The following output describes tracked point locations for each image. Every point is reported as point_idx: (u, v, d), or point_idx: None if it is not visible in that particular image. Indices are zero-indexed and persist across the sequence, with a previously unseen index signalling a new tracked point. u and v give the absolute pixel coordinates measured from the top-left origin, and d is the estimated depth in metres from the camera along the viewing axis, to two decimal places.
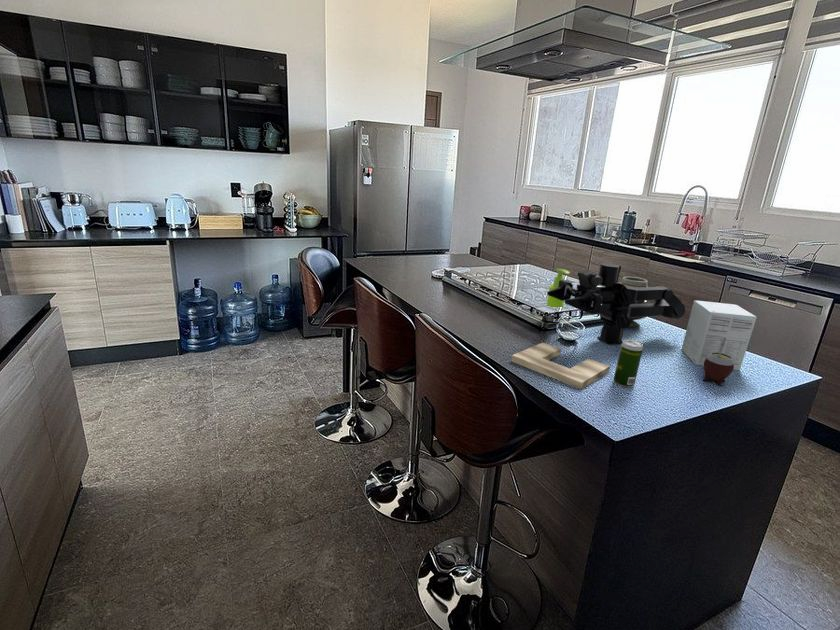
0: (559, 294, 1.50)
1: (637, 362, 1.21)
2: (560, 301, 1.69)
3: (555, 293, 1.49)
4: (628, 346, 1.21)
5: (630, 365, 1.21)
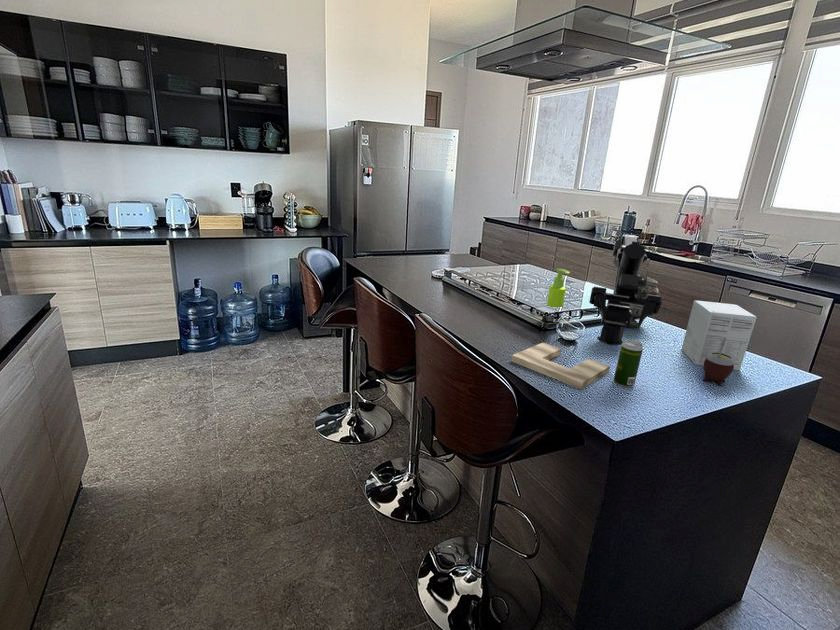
0: None
1: (637, 362, 1.21)
2: (560, 301, 1.69)
3: None
4: (628, 346, 1.21)
5: (630, 365, 1.21)
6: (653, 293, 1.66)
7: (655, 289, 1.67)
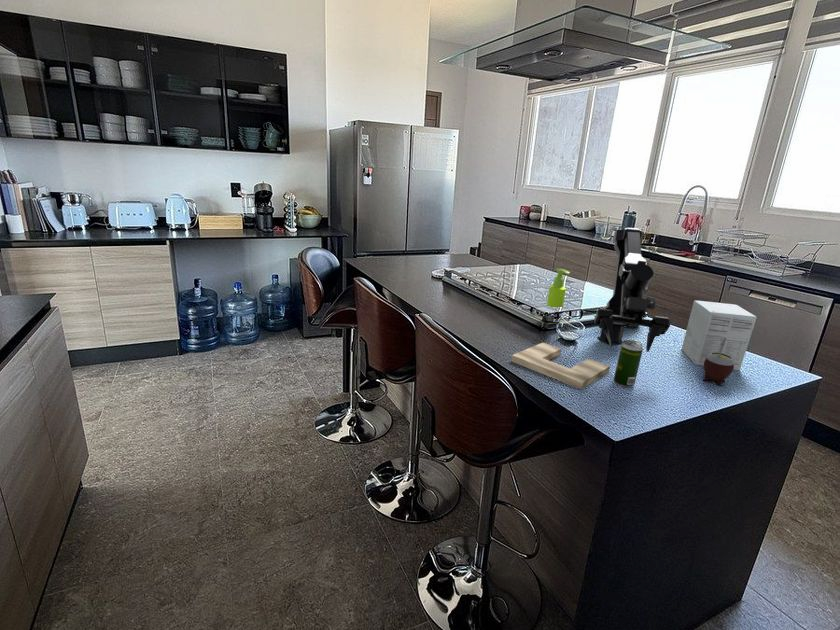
0: None
1: (637, 362, 1.21)
2: (560, 301, 1.69)
3: None
4: (628, 346, 1.21)
5: (630, 365, 1.21)
6: None
7: None
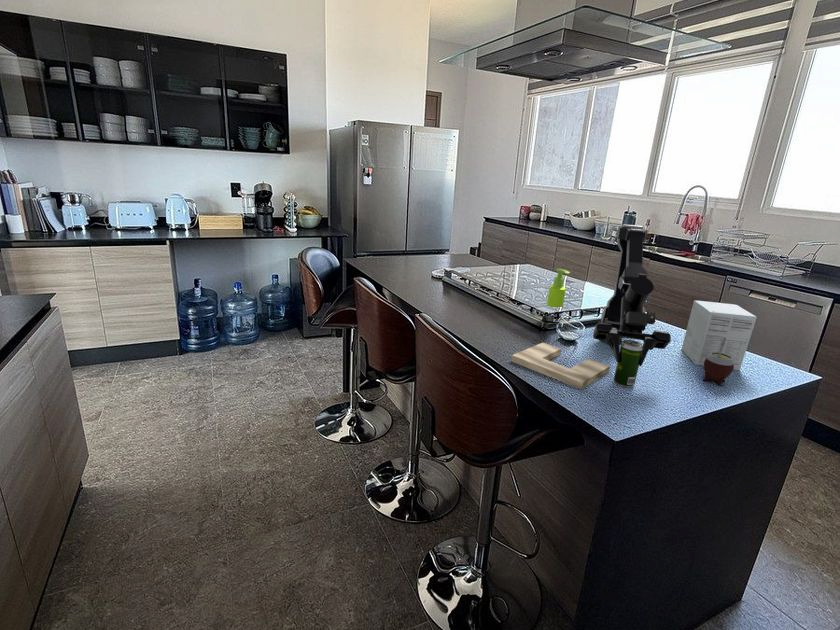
0: None
1: (637, 362, 1.21)
2: (560, 301, 1.69)
3: None
4: (628, 346, 1.21)
5: (630, 365, 1.21)
6: None
7: None
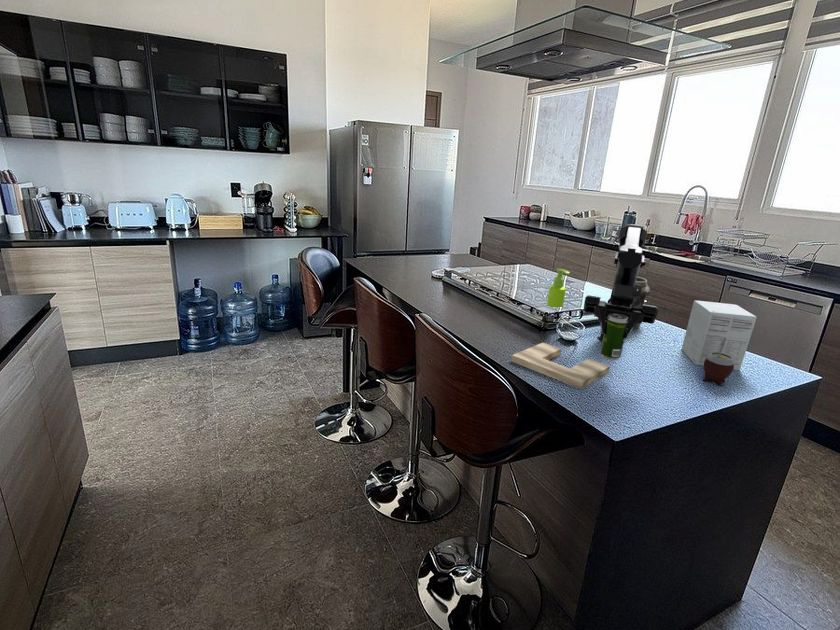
0: None
1: (621, 334, 1.24)
2: (560, 301, 1.69)
3: (605, 324, 1.27)
4: (612, 318, 1.23)
5: (614, 337, 1.24)
6: (641, 293, 1.66)
7: (643, 289, 1.66)
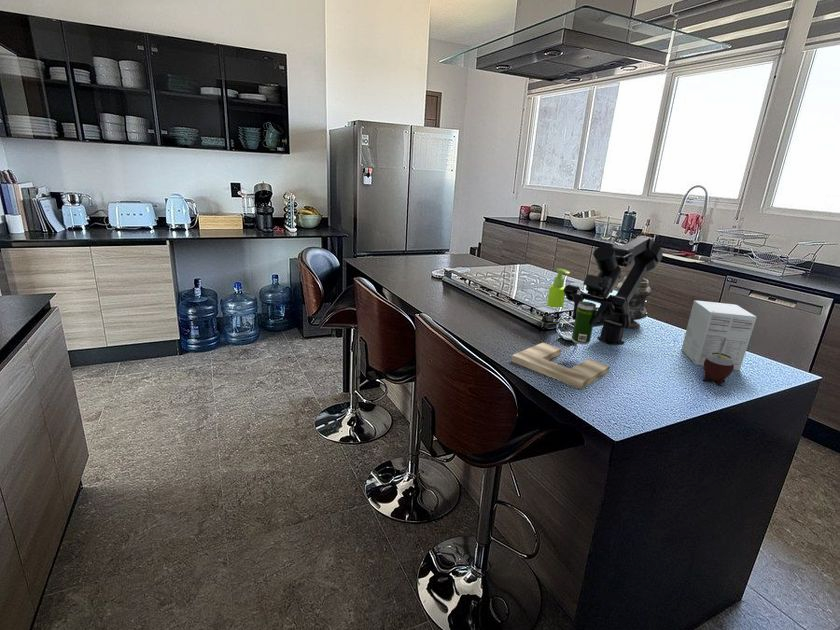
0: None
1: (587, 320, 1.35)
2: (560, 301, 1.69)
3: None
4: (579, 305, 1.35)
5: (580, 323, 1.36)
6: (642, 294, 1.66)
7: (644, 289, 1.66)
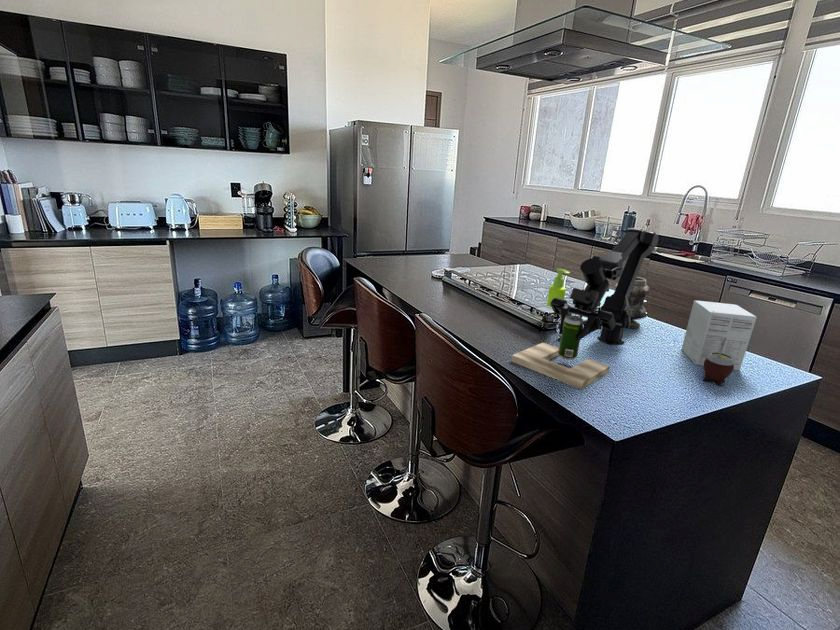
0: None
1: (573, 335, 1.31)
2: None
3: None
4: (566, 319, 1.32)
5: (566, 338, 1.32)
6: (640, 292, 1.66)
7: (642, 288, 1.67)
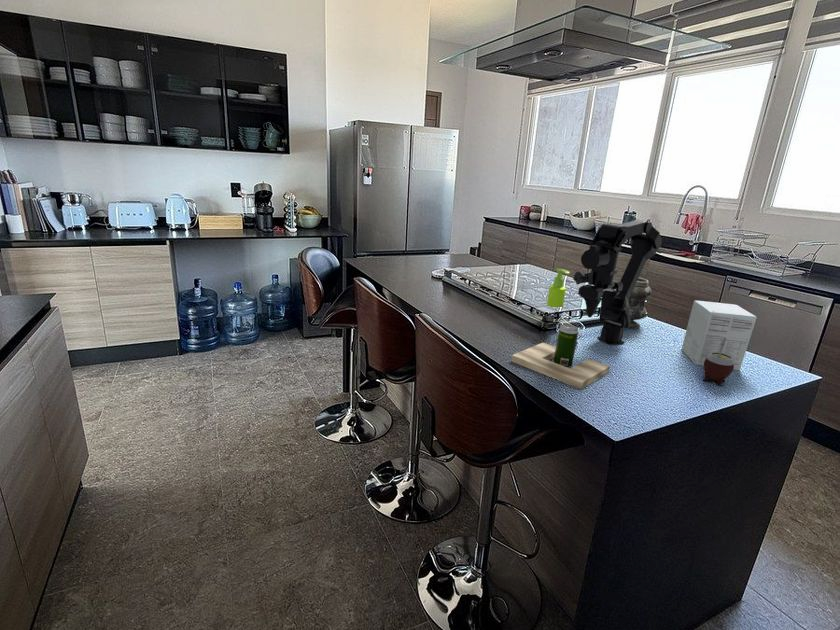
0: (607, 297, 1.46)
1: (569, 344, 1.30)
2: (560, 301, 1.69)
3: (604, 303, 1.47)
4: (561, 328, 1.31)
5: (561, 346, 1.31)
6: (640, 293, 1.66)
7: (643, 289, 1.66)
